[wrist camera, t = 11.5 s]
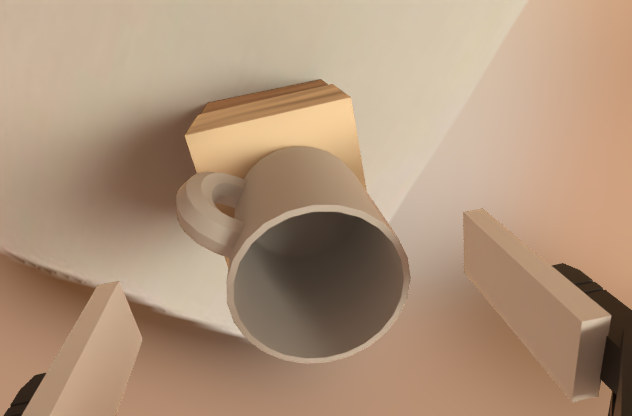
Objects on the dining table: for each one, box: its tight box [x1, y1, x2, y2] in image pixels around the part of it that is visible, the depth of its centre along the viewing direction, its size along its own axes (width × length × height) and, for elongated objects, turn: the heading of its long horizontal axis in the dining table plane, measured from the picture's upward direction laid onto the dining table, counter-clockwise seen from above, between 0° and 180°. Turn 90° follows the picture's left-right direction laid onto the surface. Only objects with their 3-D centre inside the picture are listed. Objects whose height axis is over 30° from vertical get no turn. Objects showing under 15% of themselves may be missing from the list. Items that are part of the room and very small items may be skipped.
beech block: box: [185, 84, 366, 268], centre depth 28 cm, size 9×9×6 cm
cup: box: [176, 146, 410, 363], centre depth 21 cm, size 7×10×9 cm
